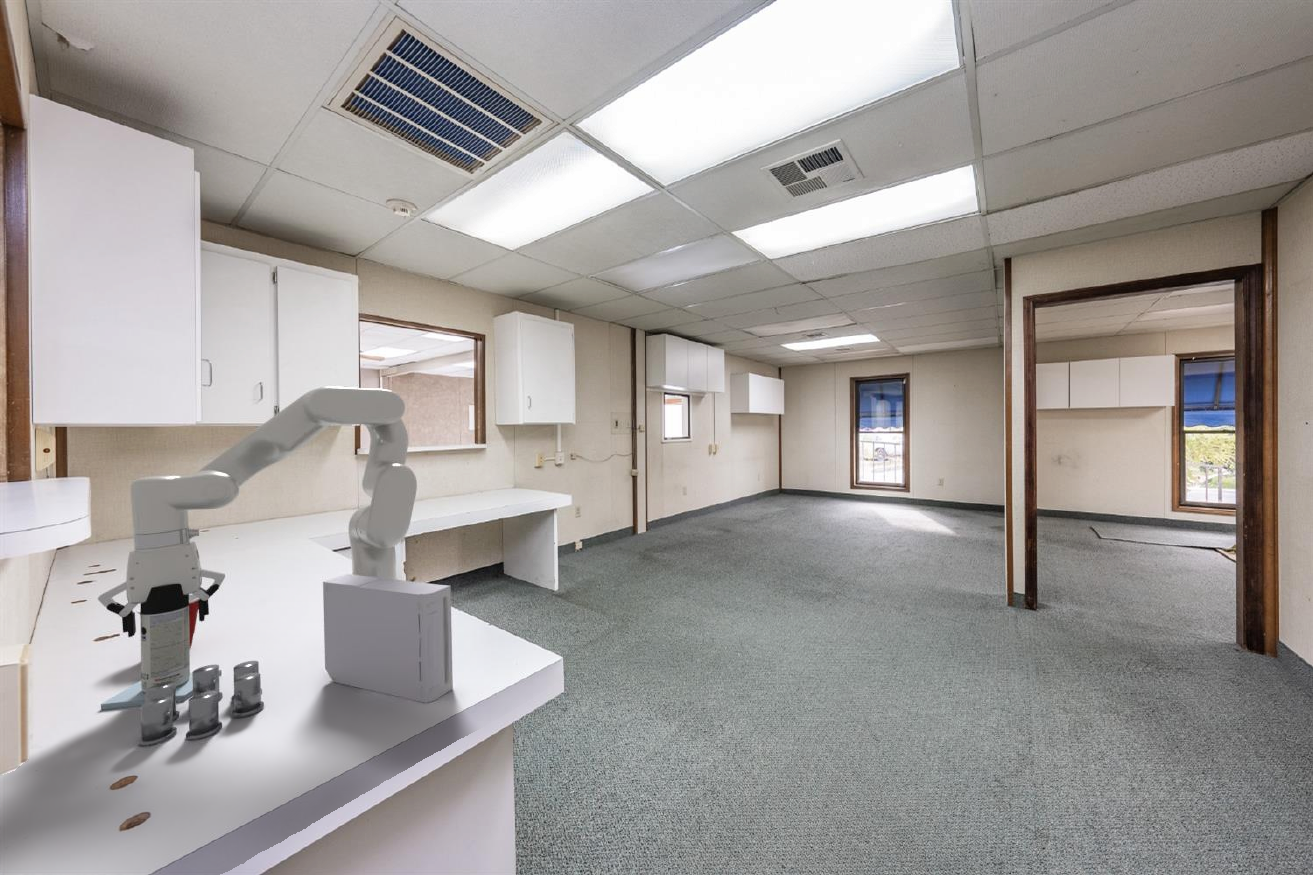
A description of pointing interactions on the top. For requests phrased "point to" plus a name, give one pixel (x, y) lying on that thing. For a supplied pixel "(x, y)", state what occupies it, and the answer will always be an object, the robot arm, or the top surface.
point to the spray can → (165, 637)
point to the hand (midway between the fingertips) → (168, 626)
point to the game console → (389, 636)
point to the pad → (137, 697)
